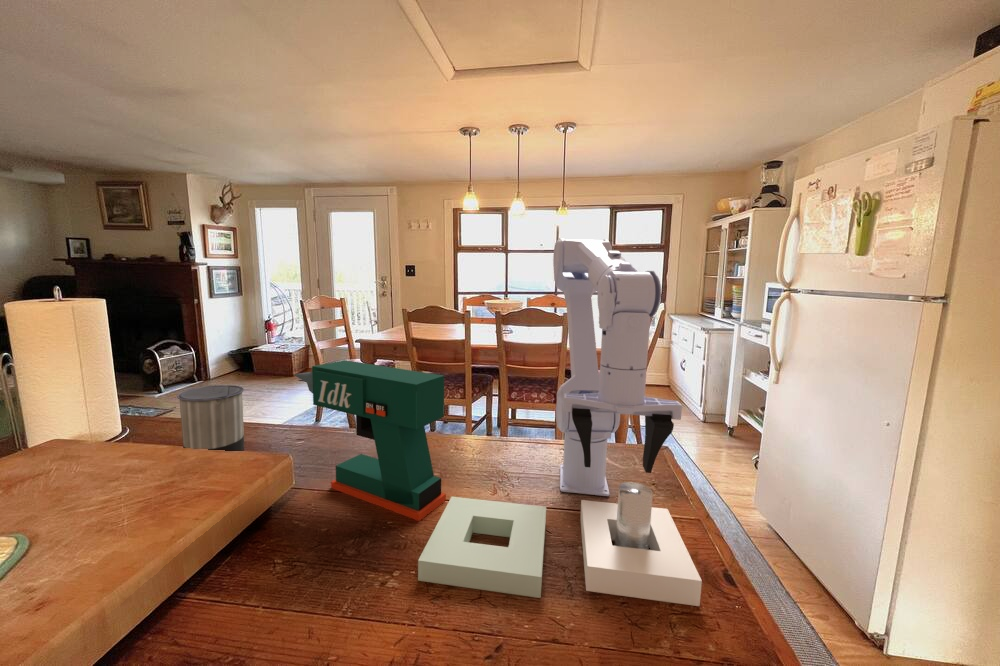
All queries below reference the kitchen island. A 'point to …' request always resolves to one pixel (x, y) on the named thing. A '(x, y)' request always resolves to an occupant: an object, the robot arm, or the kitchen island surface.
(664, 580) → the cream square-hole board
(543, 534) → the socket block
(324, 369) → the power tool
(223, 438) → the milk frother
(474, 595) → the kitchen island surface
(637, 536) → the steel peg
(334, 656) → the kitchen island surface
